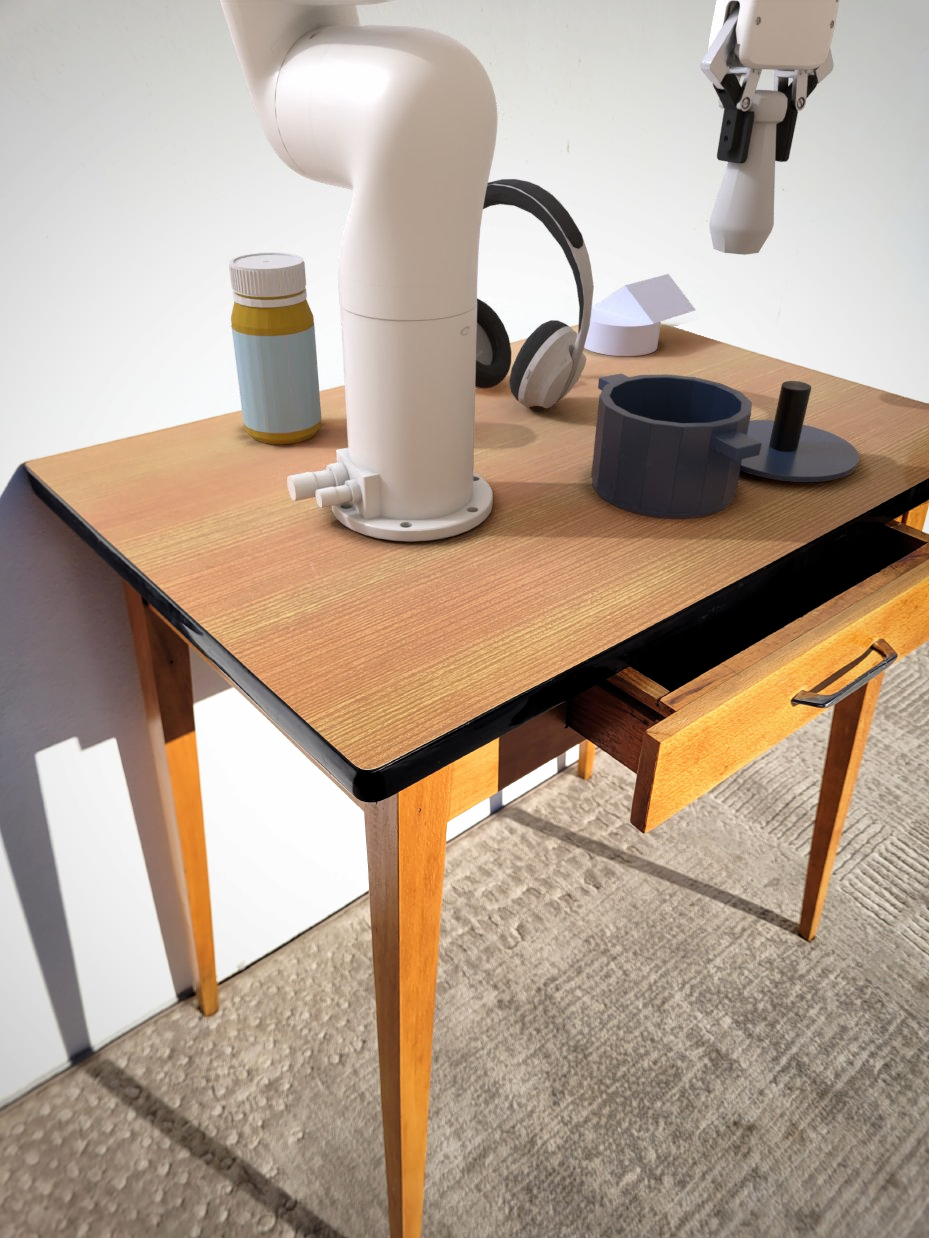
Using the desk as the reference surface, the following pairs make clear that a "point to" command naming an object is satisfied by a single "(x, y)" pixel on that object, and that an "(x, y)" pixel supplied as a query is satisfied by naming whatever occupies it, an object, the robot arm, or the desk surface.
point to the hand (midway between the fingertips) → (752, 158)
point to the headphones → (553, 346)
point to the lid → (797, 443)
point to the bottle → (275, 348)
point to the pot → (670, 444)
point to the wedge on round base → (635, 317)
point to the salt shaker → (750, 184)
